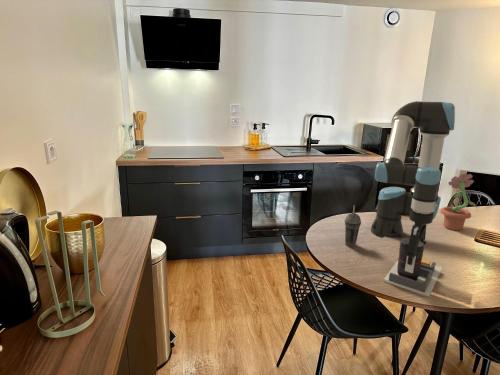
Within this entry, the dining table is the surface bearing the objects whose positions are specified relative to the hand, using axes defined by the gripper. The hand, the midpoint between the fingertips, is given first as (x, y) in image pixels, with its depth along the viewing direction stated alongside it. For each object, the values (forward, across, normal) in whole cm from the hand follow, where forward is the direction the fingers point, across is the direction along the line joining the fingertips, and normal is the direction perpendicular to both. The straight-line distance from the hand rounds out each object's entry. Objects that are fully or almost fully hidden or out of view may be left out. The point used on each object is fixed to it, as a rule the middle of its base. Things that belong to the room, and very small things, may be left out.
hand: (412, 265), depth 130 cm
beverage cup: (+7, +16, +30) cm, 35 cm away
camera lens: (+6, 0, +1) cm, 6 cm away
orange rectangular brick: (+6, +12, 0) cm, 14 cm away
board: (+7, +6, 0) cm, 9 cm away
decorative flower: (+7, +70, -5) cm, 70 cm away
